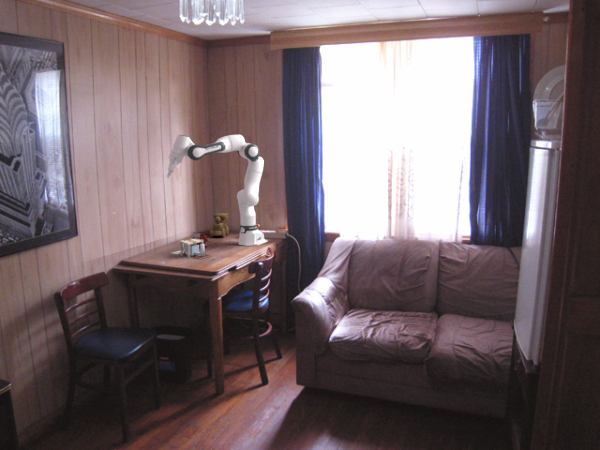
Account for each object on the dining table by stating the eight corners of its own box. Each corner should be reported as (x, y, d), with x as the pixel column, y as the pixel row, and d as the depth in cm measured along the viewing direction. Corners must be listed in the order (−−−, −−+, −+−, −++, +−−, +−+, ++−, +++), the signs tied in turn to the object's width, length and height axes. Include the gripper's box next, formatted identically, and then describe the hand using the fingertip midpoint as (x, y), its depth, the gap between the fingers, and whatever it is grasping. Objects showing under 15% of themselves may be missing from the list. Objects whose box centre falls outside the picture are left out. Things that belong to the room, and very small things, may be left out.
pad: (182, 250, 342) (182, 250, 342) (188, 251, 338) (188, 251, 338) (170, 253, 334) (170, 252, 334) (176, 254, 330) (176, 254, 330)
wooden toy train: (216, 233, 402) (215, 212, 399) (230, 233, 400) (229, 213, 397) (209, 238, 382) (208, 216, 379) (223, 238, 381) (223, 217, 378)
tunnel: (195, 252, 336) (195, 238, 334) (203, 253, 332) (203, 239, 330) (180, 255, 326) (179, 241, 324) (188, 257, 321) (188, 243, 320)
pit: (205, 255, 328) (205, 254, 328) (212, 256, 325) (212, 255, 325) (194, 258, 320) (194, 257, 320) (200, 259, 317) (200, 258, 317)
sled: (184, 250, 338) (183, 239, 336) (207, 255, 324) (207, 243, 323) (177, 252, 333) (176, 240, 331) (200, 257, 320) (200, 245, 318)
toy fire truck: (205, 249, 346) (204, 234, 344) (190, 247, 350) (189, 233, 349) (210, 247, 352) (210, 232, 350) (195, 245, 357) (195, 231, 355)
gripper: (180, 159, 321) (172, 179, 321) (179, 160, 341) (172, 179, 341) (171, 155, 319) (163, 175, 319) (170, 156, 339) (163, 175, 339)
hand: (167, 177), depth 330 cm, fingers open, 8 cm apart
